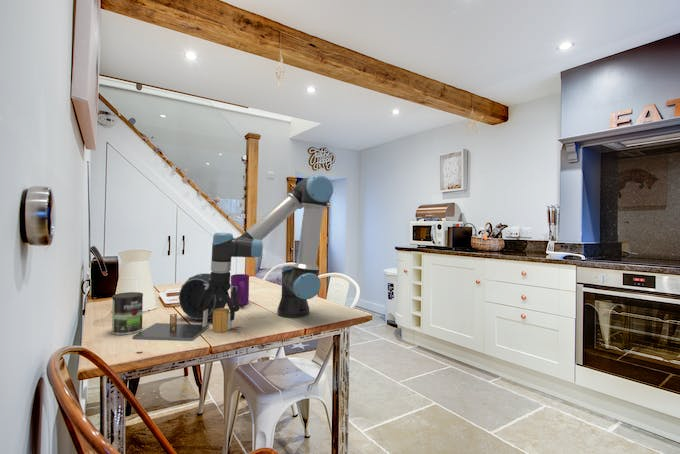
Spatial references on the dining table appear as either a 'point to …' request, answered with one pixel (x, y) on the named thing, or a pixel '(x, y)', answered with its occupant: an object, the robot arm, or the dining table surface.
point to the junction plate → (171, 331)
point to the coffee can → (127, 313)
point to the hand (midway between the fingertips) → (217, 327)
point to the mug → (241, 288)
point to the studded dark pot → (191, 297)
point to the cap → (220, 319)
